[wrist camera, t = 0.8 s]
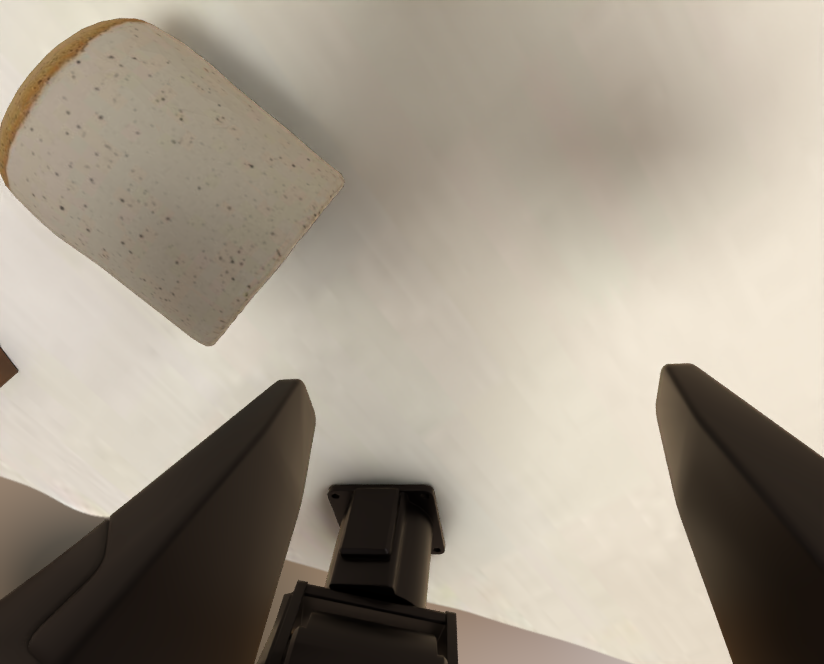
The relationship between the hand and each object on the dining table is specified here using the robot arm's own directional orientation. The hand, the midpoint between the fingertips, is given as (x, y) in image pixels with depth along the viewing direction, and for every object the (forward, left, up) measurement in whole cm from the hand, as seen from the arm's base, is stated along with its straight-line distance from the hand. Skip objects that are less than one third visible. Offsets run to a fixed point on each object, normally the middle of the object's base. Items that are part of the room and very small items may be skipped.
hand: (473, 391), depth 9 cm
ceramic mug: (0, +11, -13) cm, 17 cm away
